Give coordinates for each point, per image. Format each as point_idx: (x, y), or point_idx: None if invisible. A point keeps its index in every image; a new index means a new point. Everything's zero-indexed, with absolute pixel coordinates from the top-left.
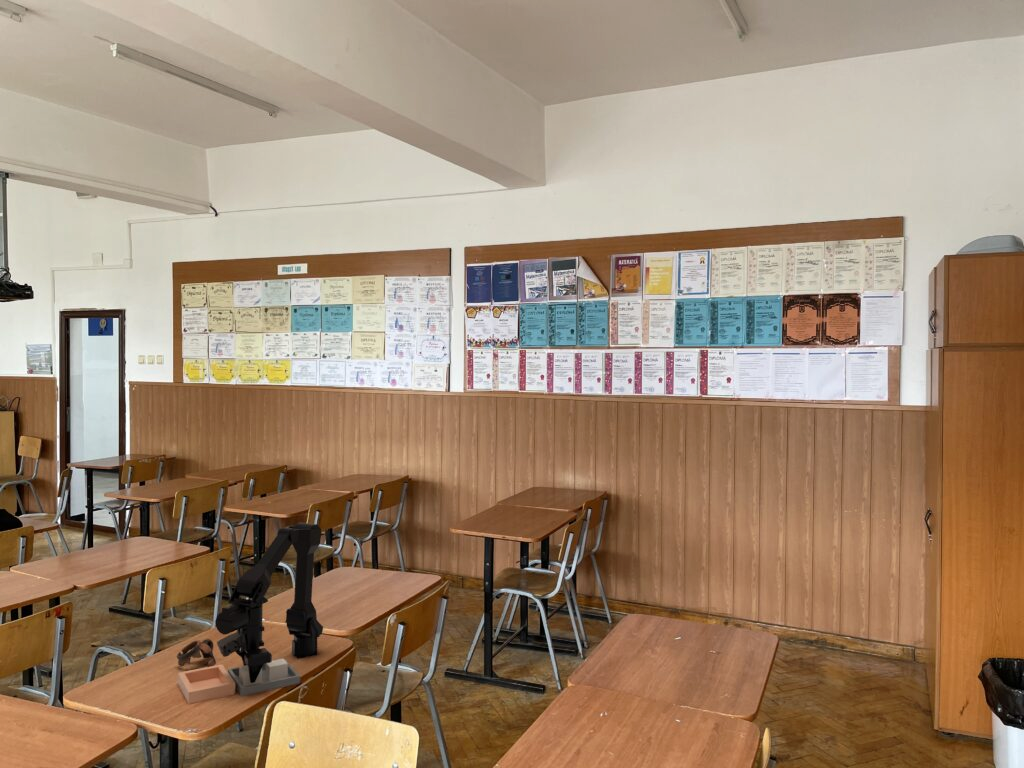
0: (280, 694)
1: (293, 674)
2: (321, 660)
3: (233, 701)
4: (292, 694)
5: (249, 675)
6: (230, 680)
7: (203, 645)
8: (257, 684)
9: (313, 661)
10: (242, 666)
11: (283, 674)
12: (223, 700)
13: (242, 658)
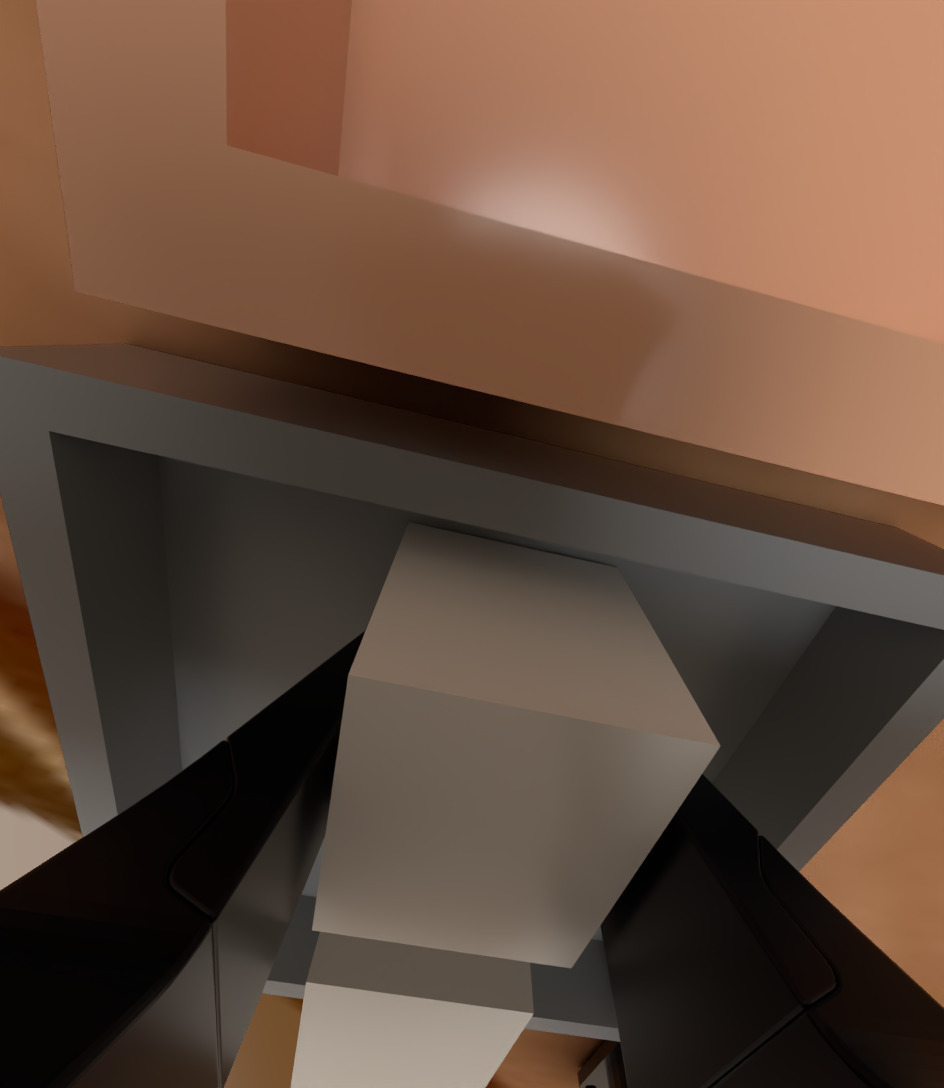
0: (51, 709)
1: None
2: (511, 1055)
3: (58, 182)
4: (8, 768)
5: (321, 696)
6: (315, 270)
7: None
8: (54, 638)
9: (535, 1035)
10: (668, 789)
11: None
12: None
13: (850, 1040)
